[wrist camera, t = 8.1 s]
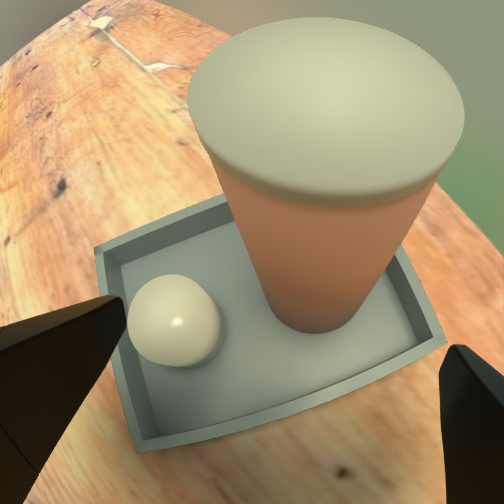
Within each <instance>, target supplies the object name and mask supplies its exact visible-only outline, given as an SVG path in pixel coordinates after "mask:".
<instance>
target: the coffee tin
mask: <svg viewBox="0 0 504 504" xmlns="http://www.w3.org/2000/svg"><path fill="white" fill-rule="evenodd" d="M187 103H188V110H189V113H190V116H191V118H192V121H193V124H194V126H195V128H196V131H197V133H198V136H199V138H200V141H201V143H202V145H203V146H204V148H205V150H206V151H207V153H208V154H209V156H210V159H211V161H212V164H213V166H214V169H215V172H216V174H217V177H218V179H219V182H220V184H221V187H222V189H223V192H224V194H225V197H226V199H227V202H228V204H229V207H230V209H231V212H232V214H233V217H234V219H235V222H236V224H237V227H238V229H239V232H240V234H241V237H242V239H243V242H244V244H245V247H246V249H247V252H248V254H249V257H250V259H251V262H252V264H253V267H254V269H255V272H256V274H257V277H258V279H259V282H260V284H261V287H262V289H263V292H264V294H265V297H266V299H267V302H268V304H269V307H270V308H271V310H272V312H273V313H274V314H275V316H276V317H277V318H278V319H279V320H280V321H281V322H282V323H284V324H285V325H286V326H288V327H290V328H291V329H294V330H296V331H299V332H302V333H307V334H322V333H327V332H331V331H334V330H336V329H338V328H340V327H342V326H343V325H345V324H346V323H347V322H348V321H350V320H351V319H352V317H353V316H354V315H355V314H356V312H357V311H358V310H359V308H360V307H361V305H362V304H363V302H364V301H365V299H366V298H367V296H368V295H369V293H370V292H371V290H372V289H373V287H374V286H375V284H376V283H377V281H378V280H379V278H380V277H381V275H382V273H383V272H384V270H385V269H386V267H387V266H388V264H389V262H390V261H391V259H392V258H393V256H394V254H395V253H396V251H397V249H398V248H399V246H400V244H401V243H402V241H403V239H404V238H405V236H406V234H407V233H408V231H409V229H410V227H411V226H412V224H413V222H414V221H415V219H416V217H417V215H418V213H419V212H420V210H421V208H422V206H423V204H424V203H425V201H426V199H427V197H428V195H429V193H430V191H431V189H432V188H433V186H434V184H435V182H436V180H437V178H438V176H439V174H440V173H441V171H442V170H443V169H444V168H445V166H446V165H447V163H448V161H449V159H450V157H451V155H452V153H453V151H454V149H455V147H456V145H457V143H458V141H459V139H460V136H461V134H462V131H463V126H464V121H465V120H464V107H463V102H462V98H461V96H460V93H459V91H458V89H457V87H456V85H455V83H454V82H453V80H452V78H451V77H450V76H449V74H448V73H447V72H446V70H445V69H444V68H443V67H442V66H441V65H440V64H439V63H438V62H437V61H436V60H435V59H434V58H433V57H431V56H430V55H429V54H428V53H427V52H425V51H424V50H422V49H421V48H419V47H418V46H416V45H415V44H414V43H412V42H410V41H408V40H406V39H405V38H402V37H401V36H398V35H396V34H394V33H392V32H390V31H387V30H384V29H381V28H379V27H376V26H372V25H369V24H365V23H361V22H356V21H351V20H345V19H337V18H322V17H317V18H316V17H310V18H309V17H307V18H295V19H288V20H281V21H276V22H272V23H267V24H264V25H261V26H257V27H254V28H251V29H249V30H246V31H244V32H242V33H240V34H238V35H236V36H234V37H232V38H230V39H228V40H227V41H225V42H224V43H222V44H220V45H219V46H218V47H217V48H215V49H214V50H213V51H212V52H210V53H209V54H208V55H207V56H206V57H205V58H204V60H203V61H202V62H201V63H200V65H199V66H198V67H197V69H196V70H195V72H194V74H193V76H192V78H191V81H190V84H189V87H188V94H187Z"/></svg>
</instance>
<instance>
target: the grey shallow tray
mask: <svg viewBox="0 0 504 504" xmlns="http://www.w3.org/2000/svg"><path fill="white" fill-rule="evenodd" d="M94 252H95V262H96V271H97V279H98V287H99V294H100V297H101V296H105V295H108V294H111V295H115V296H119V297H121V298H122V300H123V302H124V308H125V313H126V318H128V312H129V308H130V305H131V302H132V300H133V298H134V297H135V295H136V294H137V292H138V291H139V290H140V289H141V288H142V287H143V286H144V285H145V284H146V283H148V282H149V281H151V280H152V279H155V278H157V277H160V276H163V275H170V274H175V275H181V276H185V277H187V278H190V279H191V280H193V281H195V282H196V283H197V284H198V285H199V286H200V287H201V288H202V289H203V290H204V291H205V292H206V293H207V294H208V295H209V296H210V297H211V298H212V299H213V300H214V301H215V302H216V303H217V304H218V305H219V306H220V308H221V309H222V311H223V313H224V316H225V319H226V324H227V334H226V339H225V342H224V345H223V347H222V349H221V351H220V352H219V353H218V355H217V356H216V357H215V358H214V359H213V360H212V361H210V362H209V363H207V364H205V365H203V366H201V367H198V368H192V369H184V368H179V367H173V366H168V365H162V364H158V363H154V362H152V361H150V360H148V359H146V358H145V357H143V356H142V355H141V354H140V353H139V352H138V351H137V350H136V348H135V347H134V345H133V343H132V341H131V339H130V336H129V333H128V327H127V326H126V329H125V331H124V333H123V335H122V337H121V339H120V340H119V342H118V344H117V346H116V348H115V350H114V352H113V354H112V356H111V361H112V366H113V370H114V375H115V379H116V383H117V387H118V391H119V395H120V399H121V402H122V406H123V410H124V413H125V417H126V420H127V424H128V427H129V430H130V434H131V437H132V440H133V443H134V446H135V449H136V452H137V453H143V452H149V451H155V450H161V449H166V448H172V447H177V446H182V445H186V444H191V443H195V442H200V441H204V440H208V439H212V438H216V437H220V436H224V435H228V434H232V433H235V432H239V431H243V430H246V429H249V428H253V427H256V426H259V425H263V424H266V423H269V422H272V421H275V420H278V419H281V418H284V417H287V416H290V415H293V414H296V413H298V412H301V411H304V410H307V409H309V408H312V407H315V406H317V405H320V404H323V403H325V402H328V401H330V400H333V399H335V398H337V397H340V396H342V395H345V394H347V393H349V392H352V391H354V390H356V389H359V388H361V387H363V386H365V385H367V384H370V383H372V382H374V381H376V380H378V379H380V378H382V377H384V376H387V375H389V374H391V373H393V372H395V371H397V370H399V369H401V368H403V367H405V366H407V365H408V364H410V363H412V362H414V361H416V360H418V359H420V358H422V357H423V356H425V355H427V354H429V353H431V352H432V351H434V350H436V349H438V348H439V347H441V346H443V345H445V344H446V343H448V342H447V340H446V337H445V335H444V332H443V330H442V328H441V325H440V323H439V321H438V318H437V316H436V314H435V312H434V309H433V307H432V305H431V303H430V301H429V298H428V296H427V294H426V292H425V290H424V288H423V286H422V284H421V282H420V280H419V278H418V276H417V274H416V271H415V270H414V268H413V266H412V264H411V262H410V260H409V258H408V256H407V254H406V252H405V250H404V248H403V246H402V244H400V246H399V248H398V249H397V251H396V253H395V254H394V256H393V258H392V259H391V261H390V262H389V264H388V266H387V267H386V269H385V270H384V272H383V273H382V275H381V277H380V278H379V280H378V281H377V283H376V284H375V286H374V287H373V289H372V290H371V292H370V293H369V295H368V296H367V298H366V299H365V301H364V302H363V304H362V305H361V307H360V308H359V310H358V311H357V312H356V314H355V315H354V316H353V317H352V319H351V320H350V321H348V322H347V323H346V324H345V325H343V326H342V327H340V328H338V329H336V330H334V331H331V332H327V333H322V334H307V333H302V332H299V331H296V330H294V329H291V328H290V327H288V326H286V325H285V324H284V323H282V322H281V321H280V320H279V319H278V318H277V317H276V316H275V314H274V313H273V312H272V310H271V308H270V307H269V304H268V302H267V299H266V297H265V294H264V292H263V289H262V287H261V284H260V282H259V279H258V277H257V274H256V272H255V269H254V267H253V264H252V262H251V259H250V257H249V254H248V252H247V249H246V247H245V244H244V242H243V239H242V237H241V234H240V232H239V229H238V227H237V224H236V222H235V219H234V217H233V214H232V212H231V209H230V207H229V204H228V202H227V199H226V197H225V194H224V193H223V194H221V195H218V196H215V197H213V198H210V199H208V200H205V201H203V202H200V203H197V204H195V205H192V206H190V207H187V208H185V209H182V210H180V211H177V212H175V213H173V214H170V215H168V216H165V217H163V218H160V219H158V220H156V221H153V222H151V223H149V224H146V225H144V226H141V227H139V228H137V229H134V230H132V231H130V232H128V233H125V234H123V235H121V236H118V237H116V238H114V239H112V240H109V241H107V242H105V243H103V244H101V245H98V246H96V247H94Z"/></svg>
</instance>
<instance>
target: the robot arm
mask: <svg viewBox="0 0 504 504" xmlns="http://www.w3.org/2000/svg"><path fill="white" fill-rule="evenodd" d="M126 326H127V318H126V313H125V308H124V302H123V300H122V298H121V297H119V296H115V295H111V294H108V295H105V296H101V297H98V298H95V299H91V300H88V301H85V302H81V303H78V304H75V305H72V306H68V307H65V308H62V309H58V310H55V311H52V312H48V313H45V314H42V315H39V316H35V317H32V318H29V319H25V320H22V321H19V322H16V323H12V324H9V325H7V326H2V327H0V504H23V502H24V501H25V499H26V497H27V495H28V493H29V492H30V490H31V488H32V486H33V484H34V483H35V481H36V479H37V477H38V476H39V474H38V473H40V472H41V470H42V468H43V467H44V465H45V463H46V461H47V460H48V458H49V456H50V455H51V453H52V451H53V450H54V448H55V446H56V445H57V443H58V441H59V440H60V438H61V436H62V435H63V433H64V431H65V430H66V428H67V427H68V425H69V423H70V422H71V420H72V418H73V417H74V415H75V414H76V412H77V410H78V409H79V407H80V406H81V404H82V403H83V401H84V399H85V398H86V396H87V395H88V393H89V392H90V390H91V389H92V387H93V386H94V384H95V382H96V381H97V379H98V378H99V376H100V375H101V373H102V372H103V370H104V368H105V367H106V365H107V363H108V361H109V359H110V358H111V356H112V354H113V352H114V350H115V348H116V346H117V344H118V342H119V340H120V339H121V337H122V335H123V333H124V331H125V329H126ZM439 392H440V420H441V433H442V442H443V452H444V463H445V478H446V503H447V504H504V376H503V375H502V374H500V373H499V372H498V371H497V370H496V369H494V368H493V367H492V366H491V365H489V364H488V363H487V362H486V361H485V360H483V359H482V358H481V357H480V356H478V355H477V354H476V353H475V352H474V351H472V350H471V349H470V348H469V347H467V346H466V345H459V344H453V345H451V346H450V347H449V349H448V351H447V354H446V356H445V358H444V361H443V363H442V365H441V367H440V370H439Z"/></svg>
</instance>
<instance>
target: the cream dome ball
mask: <svg viewBox="0 0 504 504" xmlns="http://www.w3.org/2000/svg"><path fill="white" fill-rule="evenodd" d="M127 327H128V333H129V336H130V339H131V341H132V343H133V345H134V347H135V348H136V350H137V351H138V352H139V353H140V354H141V355H142V356H143V357H145V358H146V359H148V360H150V361H152V362H154V363H158V364H162V365H168V366H173V367H179V368H184V369H192V368H198V367H201V366H203V365H205V364H207V363H209V362H210V361H212V360H213V359H214V358H215V357H216V356H217V355H218V353H219V352H220V351H221V349H222V347H223V345H224V342H225V339H226V334H227V324H226V319H225V316H224V313H223V311H222V309H221V308H220V306H219V305H218V304H217V303H216V302H215V301H214V300H213V299H212V298H211V297H210V296H209V295H208V294H207V293H206V292H205V291H204V290H203V289H202V288H201V287H200V286H199V285H198V284H197V283H196V282H195V281H193V280H191V279H190V278H187V277H185V276H181V275H175V274H170V275H163V276H160V277H157V278H155V279H152V280H151V281H149V282H148V283H146V284H145V285H144V286H143V287H142V288H141V289H140V290H139V291H138V292H137V294H136V295H135V297H134V298H133V300H132V302H131V305H130V308H129V312H128V318H127Z"/></svg>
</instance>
